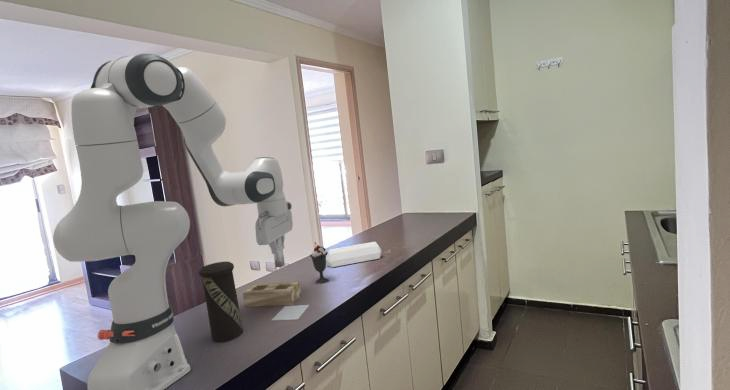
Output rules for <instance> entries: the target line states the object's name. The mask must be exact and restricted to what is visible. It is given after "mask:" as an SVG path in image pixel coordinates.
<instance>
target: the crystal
mask: <svg viewBox="0 0 730 390" xmlns="http://www.w3.org/2000/svg"><path fill="white" fill-rule="evenodd" d="M327 252H328V254H327V255H326V265H328V266H329V267H330V268H336V267H341V266H347V265H352V264H358V263H362V262H363V263H364V262H369V261H373V260H379V259H381V256H382V249H381V246H379V244H378V243H377V241H371V242H365V243H364V242H363V243H359V244H353V245H348V246H342V247H337V248H329V250H327Z"/></svg>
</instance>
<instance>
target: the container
mask: <svg viewBox="0 0 730 390" xmlns="http://www.w3.org/2000/svg"><path fill="white" fill-rule="evenodd" d="M234 268H235V265H234V262H233V263H232V261H219V262H213V263H210V264H206V265H204V266H202V267H201V268H200V269H199V271H198V274H199V276H200V277H201V281H202V282H201V283H202V286H203V287H202V288H203V292H204V298H205V303H206V304H205V305H206V310H207V316H208V322H209V329H210V335H211V340H212V342H213V343H227V342H231V341H233V340H236V339H237V338H239V337H240V336H242V334H243V333H244V328H243V321H242V315H241V312H240V311H241V310H240V306H239V300H238V294H237V289H236V288H237V287H236V284H235V278H234V273H233V271H234Z"/></svg>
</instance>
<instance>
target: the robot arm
mask: <svg viewBox="0 0 730 390" xmlns="http://www.w3.org/2000/svg"><path fill="white" fill-rule="evenodd" d="M94 73H95V74H94V75H93V80H92V84H91V86H90V88H86V89H83V90H81V91H79V92H78V93H76V94H75V95H74V96H73V98H72V100H71V105H70V106H71V109H70V111H71V124H72V125H71V126H72V134H73V138H74V144H75V148H76V149H75V150H76V154H77V158H78V164H79V168H80V178H81V186H80V192H79V196H78V198H77V201H76V203H75V204H74V205H73V207H72V208H71V209H70V211H69V212H68V213H67V214H66V215H65V216H64V217H62V218H61V219H60V220H59V221H58V223H57V224H56V226H55V228H54V231H53V235H52V241H53V245H54V248H55V250H56V252H57V253H58V254H59V255H60V256H61V257H62V258H64V259H65V260H66V261H69V262H79V263H80V262H81V263H82V262H97V261H103V260H108V259H114V258H119V257H124V256H129V255H131V256H135V262H134V263H133V264H132V266H130V267H129V268H126V270H124V271H123V272H121V273H120V274H118V275H117V276H115V278H113V280H112V281H111V282H110V284H109V286H108V289H107V293H108V294H107V295H108V300H109V305H110V310H111V314H112V319H113V320H112V321H111V327H110V329H100V330H99V332H98V333H97V339H98V340H99V341H103V340H105V341H106V340H107V341H108V340H109V343H108V345H107V347H106V349H105V350H104V351H103V353H102V355H100V358H99V359H98V361H97V362H96V364H95V366H94V367H93V368H92V370H91V372H90V373H89V375H88V376H87V386H86V387H87V390H165V389H167V388H168V387H169V386H171V385H173V384H174V383H176V382H177V381H178V380H179V379H181V378H182V377H184V376H185V375H186V374H188V373H190V371H191V370H192V368H191V366H190V364H189V362H188V360H187V358H186V355H185V352H184V349H183V347H182V343H181V340H180V337H179V334H178V333H177V331H176V329H175V327H174V324H173V323H174V321H175V319H174V312H173V309H172V306H171V304H169V298H168V292H167V283H166V272H167V267H168V264H169V261H170V258H171V257H172V255H173V253H174V252H175V250H176V248H177V247H178V246H179V245H180V244H181V243H182V242H183V241H184V240H185V239H186V238H187V236H188V234H189V232H190V227H191V220H190V216H189V213H188V211H187V210H186V208H185V207H183V206H182V204H180V203H178V201H168V200H167V201H165V200H164V201H163V200H155V201H146V202H138V203H133V204H126V205H118V203H117V197H119V195H121V194H122V193H124V192H125V191H127V190H128V189H130V188H132V187H134V186H135V185H136V184H137V183H139V182H140V180H141V179H142V178H143V174H144V168H143V162H142V157H141V151H140V146H139V142H138V137H137V132H136V128H135V126H134V125H135V116H136V112H137V110H138V109H146V108H152V107H159V106H162V107H164V109H166V110H167V111H168V112H169V114H170V115H171V117H172V118H173V119H174V121H175V123H176V124H177V125H178V127H179V128H180V131H181V132H182V135H183V143H184V146H185V149H186V150H187V153H188V155H189V156H190V157H191V160H192V162H193V163H194V165H195V166H196V169H197V170H198V171H199V174H201V176H202V178H203V180H204V182H205V184H206V187H207V190H208V193H209V195H210V197H211V199H212V201H213V202H214V203H215V204H217V205H218V206H220V207H230V206H235V205H238V206H239V205H249V204H252V205H253V204H256V208H257V215H258V218H257V219H256V221H255V227H254V229H255V238H256V239H255V240H256V244H257V245H258V246H268V247H269V248H270V250H271V254H272V255H274V254H277V253H278V252H279V248H278V247H277V245H276V239H278V238H280V237H281V240H282V248H283V250H284V249H285V239H286V236H285V235H286V234H288V233H289V232H291V231H292V230H293V224H294V223H293V214H292V209H293V205H292V202H290V201H288V200H286V196H285V193H284V189H283V188H284V179H283V174H282V170H281V166H280V163H279V161H278V160H277V159H276V158H274V157H266V156H264V157H263V156H262V157H257V158H256V157H255V158H254V159H253V160H252V162H251V163H252V164H250V166H248V167H247V168H246V169H245V170H243V171H236V172H229V171H228V170H225V169H224V168H223V167H222V165H221V163H220V161H219V159H218V157H217V155H216V154H215V152H214V150H213V146H212V145H213V144H214V143H215V142H217V140H218V139H219V138H220V137H221V136H222V134H223V133H224V131H225V129H226V123H227V122H226V121H227V119H226V117H225V113H224V112H223V109H222V108H221V106H220V105H219V103H218V102H217V100H216V99H215V97H214V96H213V94H212V93H211V91H210V90H209V88H208V87H207V86H206V85H205V84H204V82H203V81H202V80H201V79H200V78H199V76H198V75H197V74H195V72H194V71H193V70H192V69H190V68H189V67H186V66H175V65H174V64H173V63H172V62H171V61H169V60H168V59H166V58H164V57H163V56H161V55H160V56H159V55H158V54H153V53H140V54H136V55H124V56H120V57H117V58H115V59H113V60H109V61H106V62H104V63H102V64H101V65H100V66H99V67H97V70H96V71H95V72H94Z"/></svg>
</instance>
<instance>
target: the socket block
mask: <svg viewBox="0 0 730 390" xmlns="http://www.w3.org/2000/svg"><path fill="white" fill-rule="evenodd" d="M242 296H243V303H244V307H245V308H252V307H268V306H269V307H272V306H273V307H274V306H293V305H294V303H295V302H296V301H297V300H298V299H299V298H300V297H301V296H302V291H301V285H300V281H298V280H297V281H286V282H285V281H284V282H283V281H282V282H272V283H271V282H269V283H268V282H267V283H254V284H253V285H251V286H250V287H248V288H247V289H246V290H245V291H243V292H242Z"/></svg>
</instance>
